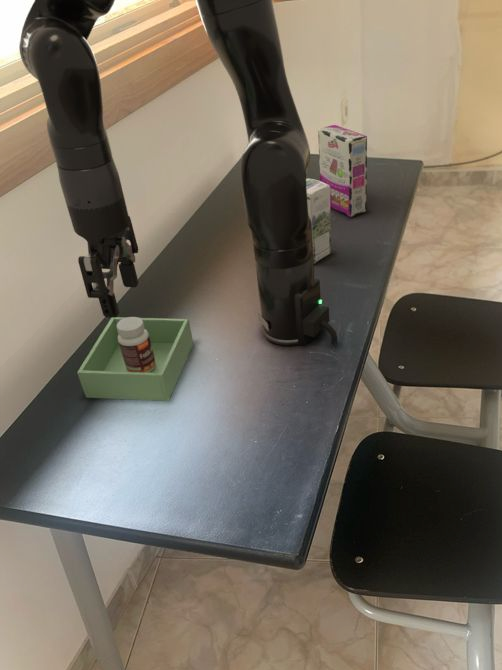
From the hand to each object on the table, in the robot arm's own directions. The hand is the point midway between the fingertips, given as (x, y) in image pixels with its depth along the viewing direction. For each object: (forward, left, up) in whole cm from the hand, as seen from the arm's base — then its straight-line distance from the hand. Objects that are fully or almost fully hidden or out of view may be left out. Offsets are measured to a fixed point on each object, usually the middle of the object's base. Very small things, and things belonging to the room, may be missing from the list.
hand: (122, 300), depth 99 cm
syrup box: (-6, -45, -13) cm, 47 cm away
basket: (0, 0, -13) cm, 13 cm away
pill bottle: (0, 0, -13) cm, 13 cm away
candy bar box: (-1, -68, -13) cm, 69 cm away
